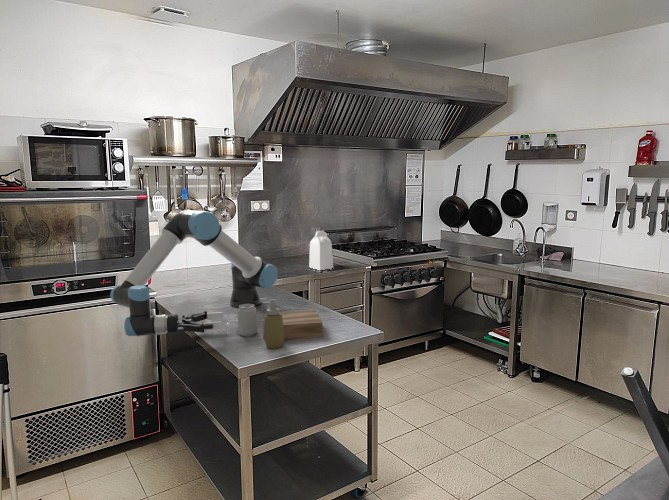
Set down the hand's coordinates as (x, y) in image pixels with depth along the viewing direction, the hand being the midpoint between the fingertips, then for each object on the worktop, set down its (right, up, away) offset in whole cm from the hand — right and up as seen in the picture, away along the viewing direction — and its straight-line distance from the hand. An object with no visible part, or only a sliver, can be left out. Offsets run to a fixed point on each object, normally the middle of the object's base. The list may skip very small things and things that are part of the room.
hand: (222, 319), depth 192 cm
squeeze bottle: (+22, -8, -12) cm, 27 cm away
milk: (+36, +15, +134) cm, 140 cm away
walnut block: (+30, -5, +4) cm, 30 cm away
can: (+10, -6, +3) cm, 12 cm away
